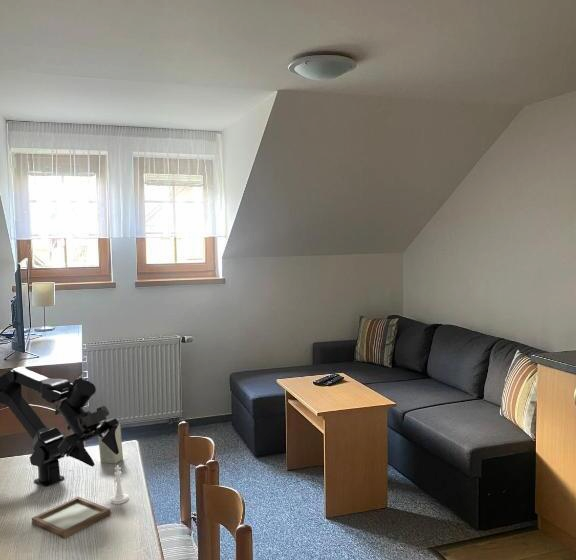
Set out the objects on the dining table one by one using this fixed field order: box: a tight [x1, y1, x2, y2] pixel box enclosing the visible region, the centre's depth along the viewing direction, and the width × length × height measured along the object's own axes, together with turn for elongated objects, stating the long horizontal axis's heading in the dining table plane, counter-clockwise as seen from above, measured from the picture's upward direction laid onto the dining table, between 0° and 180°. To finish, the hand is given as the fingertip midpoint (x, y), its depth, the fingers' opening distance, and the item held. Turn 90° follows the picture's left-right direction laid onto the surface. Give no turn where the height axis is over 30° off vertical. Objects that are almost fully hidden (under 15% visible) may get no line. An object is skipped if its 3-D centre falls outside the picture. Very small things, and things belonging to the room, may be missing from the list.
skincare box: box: [96, 423, 124, 464], centre depth 190 cm, size 6×4×12 cm
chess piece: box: [110, 464, 129, 505], centre depth 162 cm, size 5×5×10 cm
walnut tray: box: [31, 496, 112, 540], centre depth 152 cm, size 14×14×2 cm
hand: (106, 459), depth 164 cm, fingers open, 9 cm apart
